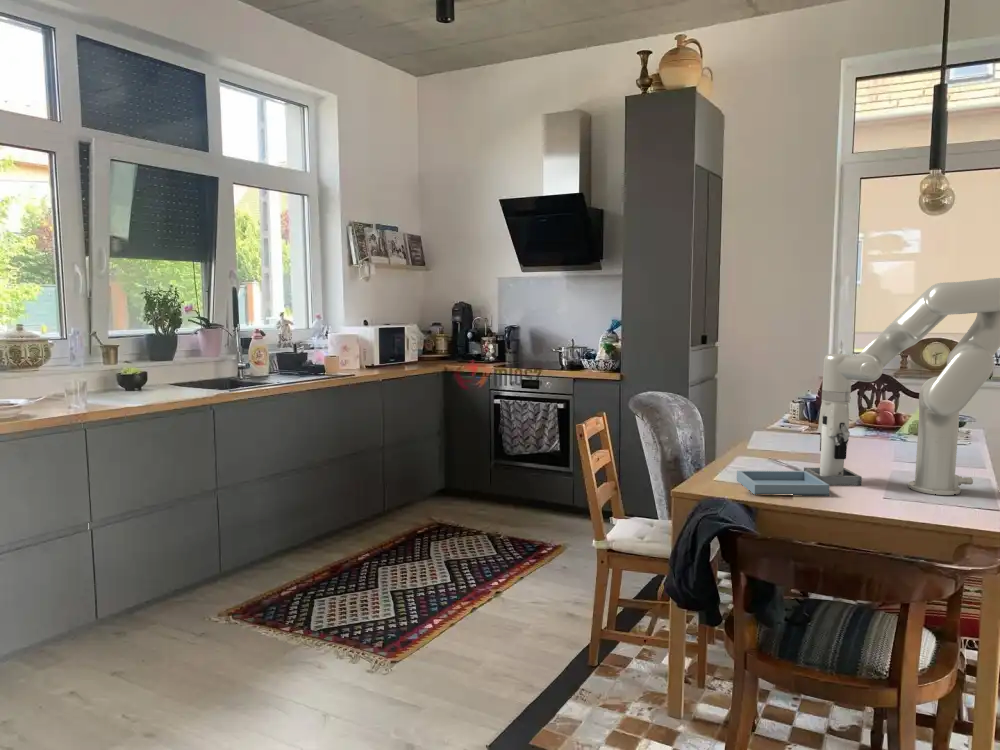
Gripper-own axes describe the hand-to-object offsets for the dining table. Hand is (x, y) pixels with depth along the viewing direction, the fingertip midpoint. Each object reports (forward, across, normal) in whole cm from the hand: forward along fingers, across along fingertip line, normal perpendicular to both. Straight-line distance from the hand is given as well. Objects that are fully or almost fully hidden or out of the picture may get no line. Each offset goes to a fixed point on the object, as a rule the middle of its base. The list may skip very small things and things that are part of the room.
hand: (832, 455), depth 216 cm
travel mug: (+8, 0, 0) cm, 8 cm away
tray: (+8, +9, -18) cm, 21 cm away
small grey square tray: (+7, 0, 0) cm, 8 cm away
